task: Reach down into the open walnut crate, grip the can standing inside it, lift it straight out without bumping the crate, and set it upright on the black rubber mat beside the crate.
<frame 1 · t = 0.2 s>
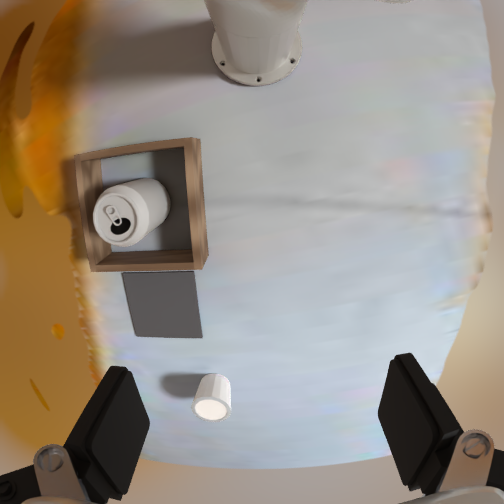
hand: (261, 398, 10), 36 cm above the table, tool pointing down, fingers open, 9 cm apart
mat: (162, 305, 50), on the table
crate: (148, 202, 44), on the table
can: (148, 202, 45), resting in crate
shot glass: (215, 383, 55), on the table
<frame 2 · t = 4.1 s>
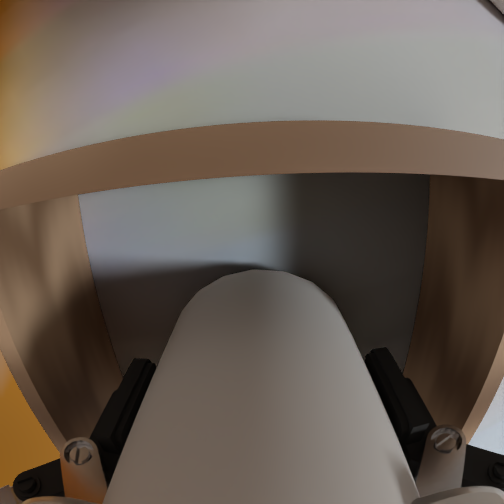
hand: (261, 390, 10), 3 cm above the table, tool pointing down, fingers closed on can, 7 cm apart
crate: (261, 338, 14), on the table
can: (261, 337, 14), resting in crate, touching gripper
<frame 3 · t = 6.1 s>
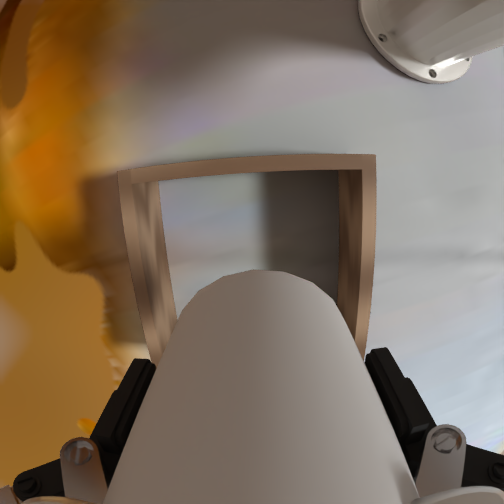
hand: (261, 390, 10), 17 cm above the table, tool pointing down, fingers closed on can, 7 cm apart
crate: (253, 258, 27), on the table
can: (260, 337, 14), point 13 cm above the table, touching gripper
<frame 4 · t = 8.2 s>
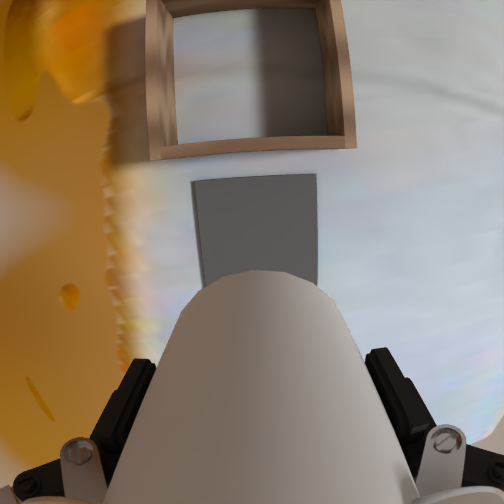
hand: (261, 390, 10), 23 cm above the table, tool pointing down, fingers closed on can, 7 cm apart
mat: (258, 235, 32), on the table
crate: (248, 70, 27), on the table
can: (260, 337, 14), point 19 cm above the table, touching gripper
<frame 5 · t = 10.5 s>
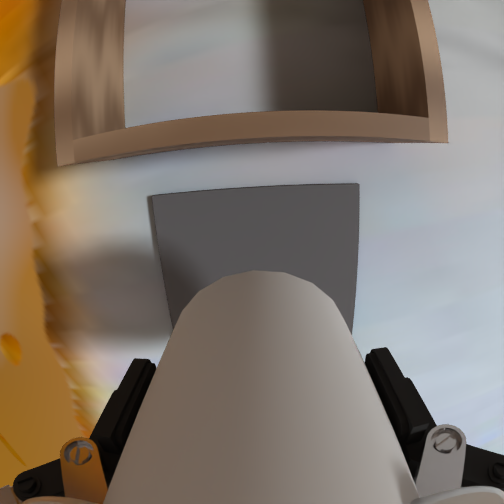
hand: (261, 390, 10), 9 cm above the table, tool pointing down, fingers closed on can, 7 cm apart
mat: (260, 284, 19), on the table
crate: (243, 11, 14), on the table
can: (260, 338, 14), point 6 cm above the table, touching gripper
when the fingers open (5 cm above the table, at t = 12.5 s): can drops 1 cm, resting on mat.
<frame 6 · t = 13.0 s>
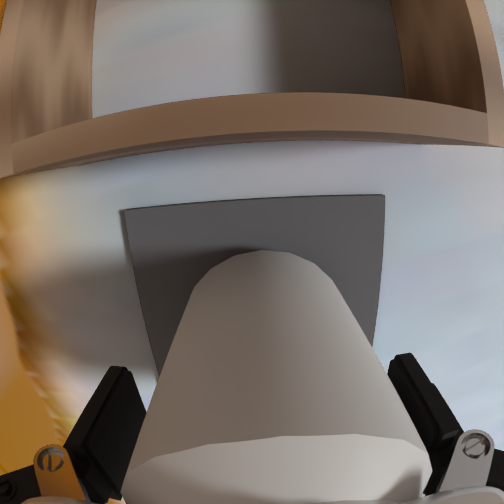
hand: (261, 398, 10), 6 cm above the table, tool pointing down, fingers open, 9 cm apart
mat: (260, 318, 16), on the table
can: (264, 316, 15), resting on mat
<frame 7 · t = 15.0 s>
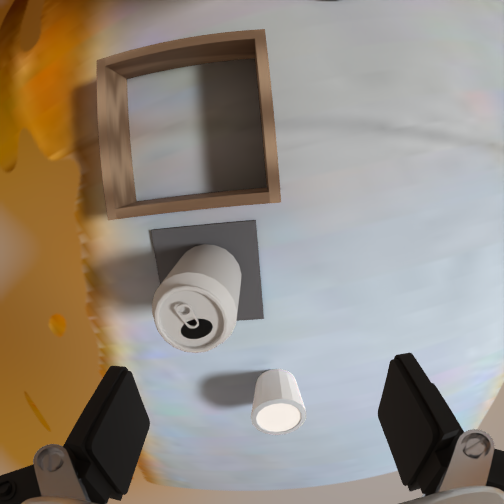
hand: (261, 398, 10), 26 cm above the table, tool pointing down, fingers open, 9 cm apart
mat: (208, 275, 37), on the table
crate: (192, 127, 32), on the table
can: (209, 273, 36), resting on mat
shot glass: (275, 383, 41), on the table
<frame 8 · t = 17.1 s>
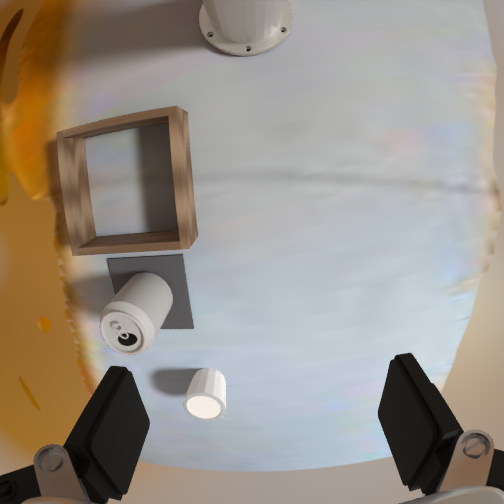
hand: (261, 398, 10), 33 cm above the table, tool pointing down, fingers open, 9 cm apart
mat: (150, 293, 46), on the table
crate: (133, 181, 41), on the table
can: (151, 292, 45), resting on mat
shot glass: (209, 379, 51), on the table
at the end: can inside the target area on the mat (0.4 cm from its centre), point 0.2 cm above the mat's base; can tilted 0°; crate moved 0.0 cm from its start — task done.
